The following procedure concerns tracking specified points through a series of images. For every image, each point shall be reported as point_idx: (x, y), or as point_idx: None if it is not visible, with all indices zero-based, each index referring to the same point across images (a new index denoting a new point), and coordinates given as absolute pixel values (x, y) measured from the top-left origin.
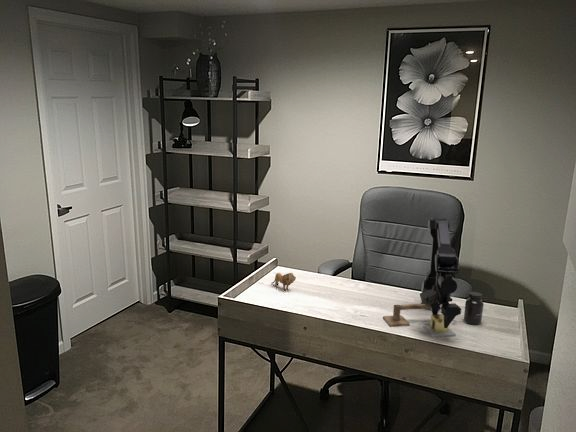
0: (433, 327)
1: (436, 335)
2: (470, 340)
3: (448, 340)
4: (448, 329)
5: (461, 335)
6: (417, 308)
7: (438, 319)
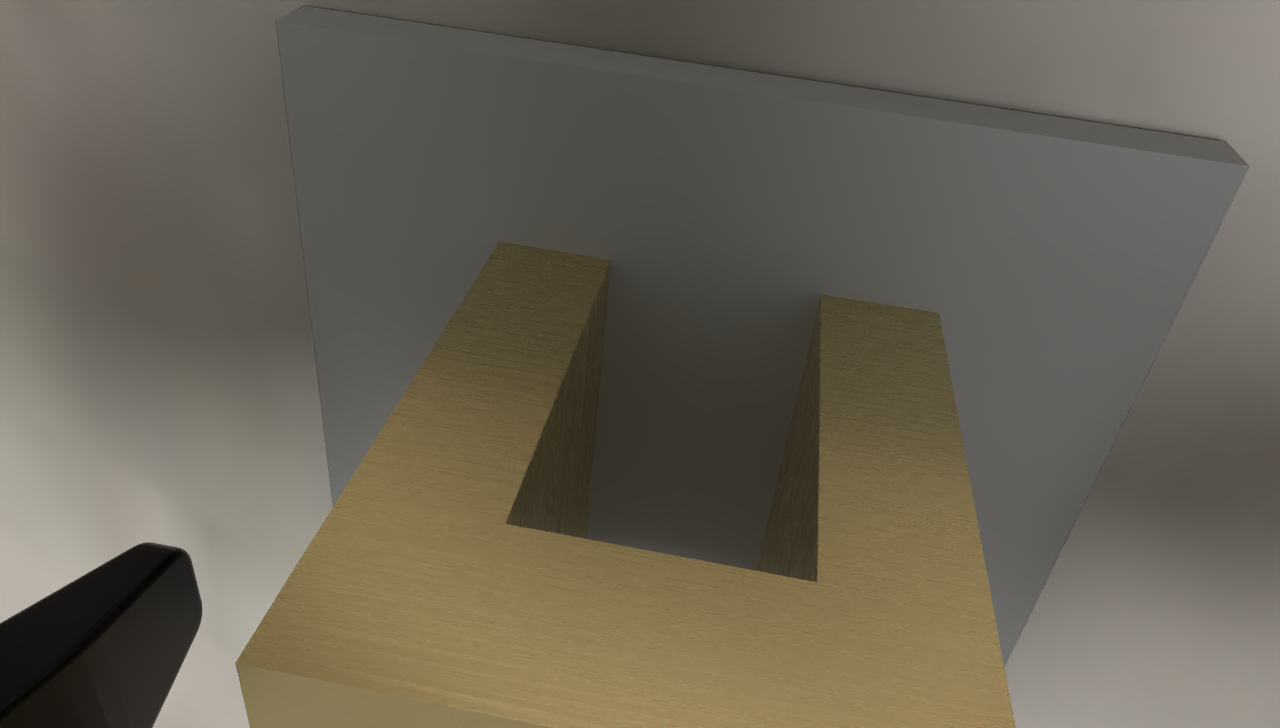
0: (808, 381)
1: (303, 145)
2: (170, 705)
3: (120, 327)
4: None
5: None
6: None
7: (254, 716)
